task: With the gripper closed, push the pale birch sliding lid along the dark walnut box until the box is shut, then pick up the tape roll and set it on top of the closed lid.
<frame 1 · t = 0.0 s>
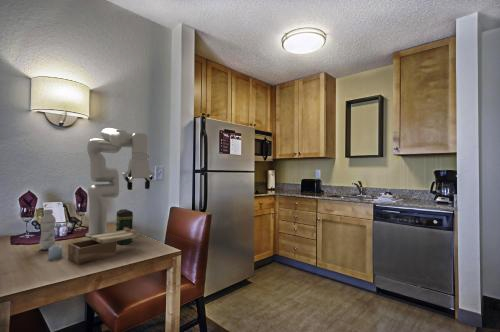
hand: (138, 189, 138), 31 cm above the table, tool pointing down, fingers open, 9 cm apart
box: (92, 257, 123), on the table
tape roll: (55, 258, 122), on the table
lid: (114, 234, 132), point 9 cm above the table, slide at 10.0 cm
coffee jar: (123, 242, 149), on the table
plastic bottle: (47, 249, 134), on the table
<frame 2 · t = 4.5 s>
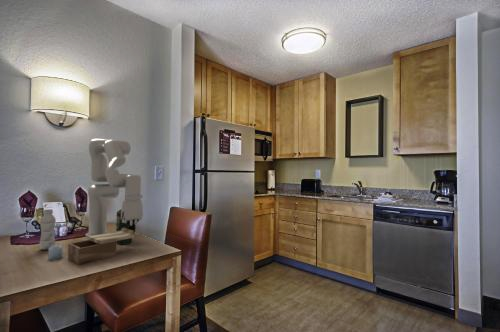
hand: (131, 232, 139), 8 cm above the table, tool pointing down, fingers closed
lid: (112, 235, 131), point 9 cm above the table, slide at 8.8 cm, touching gripper
everything else where it was.
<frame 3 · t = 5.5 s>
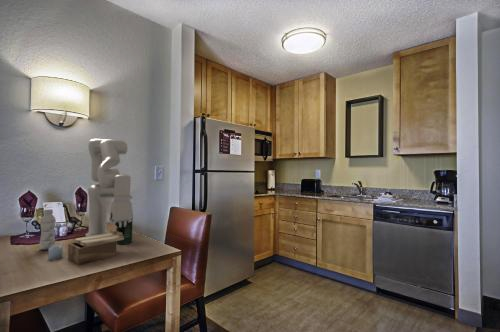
hand: (121, 234, 134), 8 cm above the table, tool pointing down, fingers closed
lid: (99, 237, 126), point 9 cm above the table, slide at 3.0 cm, touching gripper
everything else where it was.
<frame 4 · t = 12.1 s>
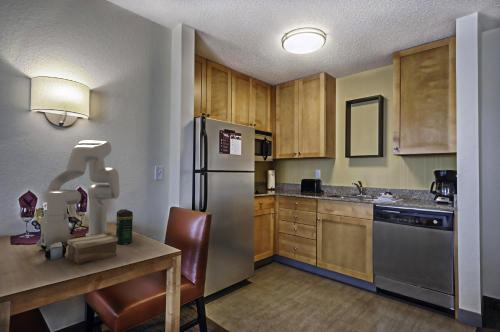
hand: (55, 256, 122), 0 cm above the table, tool pointing down, fingers closed on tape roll, 5 cm apart
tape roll: (55, 257, 122), on the table, touching gripper
lid: (93, 238, 123), point 9 cm above the table, slide at 0.0 cm
everything else where it was.
when the fingers open (10 cm above the table, at t = 16.8 s): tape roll drops 1 cm, resting on lid.
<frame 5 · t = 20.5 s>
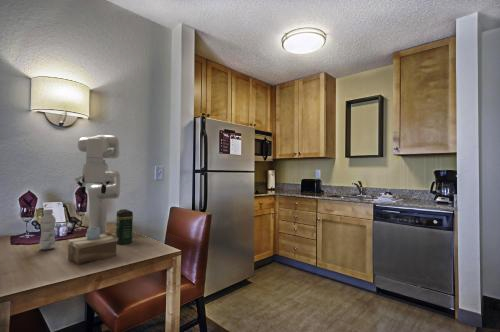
hand: (93, 193, 137), 28 cm above the table, tool pointing down, fingers open, 9 cm apart
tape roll: (93, 238, 124), point 9 cm above the table, touching lid
lid: (93, 238, 124), point 9 cm above the table, slide at 0.0 cm, touching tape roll
everything else where it was.
at the end: lid slide at 0.0 cm; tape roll inside the target area on the lid (0.1 cm from its centre), point 8.7 cm above the lid's base; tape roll tilted 0° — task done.
